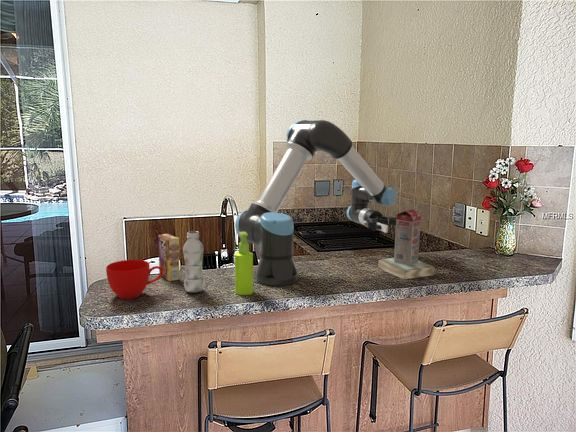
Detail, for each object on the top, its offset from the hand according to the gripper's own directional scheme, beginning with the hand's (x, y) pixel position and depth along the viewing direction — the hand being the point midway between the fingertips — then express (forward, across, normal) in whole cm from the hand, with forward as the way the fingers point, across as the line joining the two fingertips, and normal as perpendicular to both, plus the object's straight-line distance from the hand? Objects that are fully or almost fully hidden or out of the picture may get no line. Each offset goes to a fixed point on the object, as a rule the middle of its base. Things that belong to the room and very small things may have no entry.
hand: (401, 227), depth 178 cm
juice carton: (+4, 0, -13) cm, 14 cm away
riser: (+4, 0, -16) cm, 17 cm away
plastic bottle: (-2, +80, -16) cm, 82 cm away
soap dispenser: (+4, +65, -16) cm, 67 cm away
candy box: (-20, +86, -16) cm, 89 cm away
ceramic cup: (-6, +98, -16) cm, 100 cm away
